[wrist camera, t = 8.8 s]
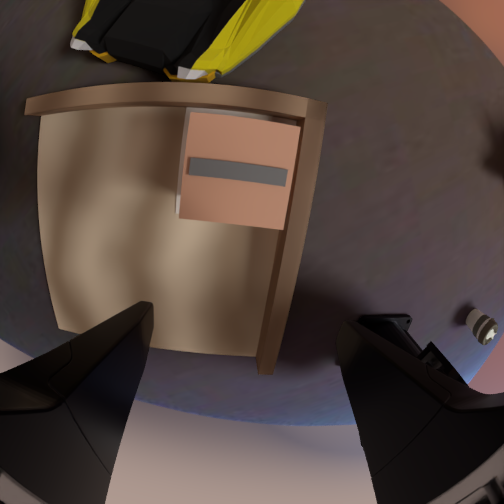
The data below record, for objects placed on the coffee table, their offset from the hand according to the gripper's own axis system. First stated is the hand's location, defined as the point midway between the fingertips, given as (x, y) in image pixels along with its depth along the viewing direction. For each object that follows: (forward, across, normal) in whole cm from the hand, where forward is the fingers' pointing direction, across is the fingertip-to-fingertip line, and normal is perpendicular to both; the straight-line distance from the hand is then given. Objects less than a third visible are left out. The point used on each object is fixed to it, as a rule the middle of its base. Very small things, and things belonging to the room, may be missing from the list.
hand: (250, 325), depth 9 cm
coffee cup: (+12, -31, +7) cm, 34 cm away
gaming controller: (+11, +7, -15) cm, 20 cm away
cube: (+10, +1, -4) cm, 11 cm away
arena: (+11, +6, +1) cm, 13 cm away
